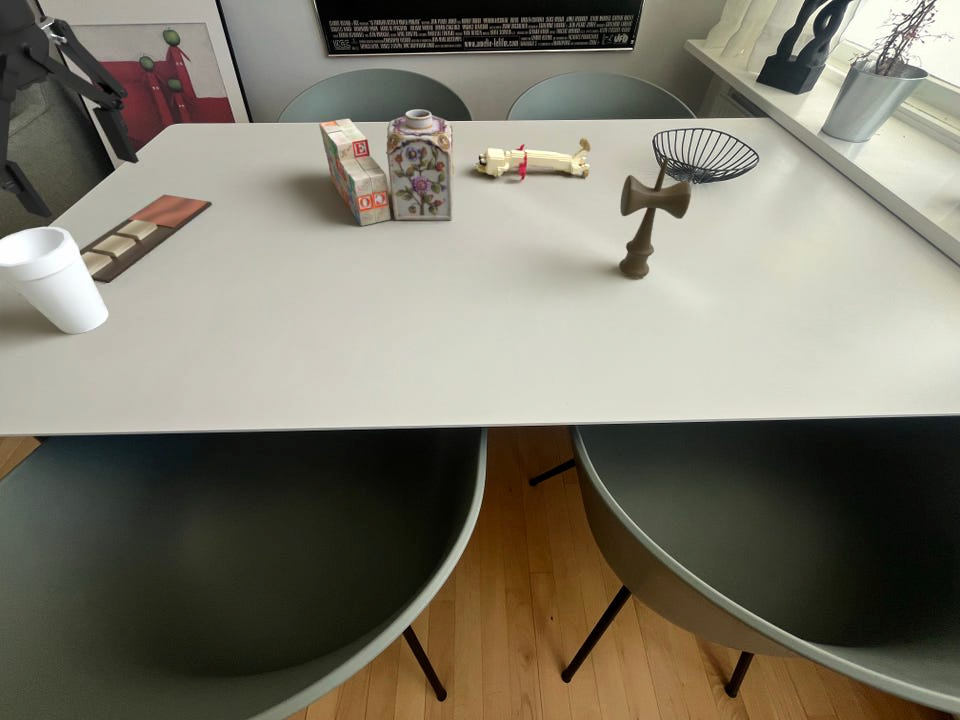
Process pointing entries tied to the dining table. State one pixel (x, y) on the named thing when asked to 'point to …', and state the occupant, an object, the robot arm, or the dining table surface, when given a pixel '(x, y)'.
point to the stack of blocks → (355, 171)
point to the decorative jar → (421, 166)
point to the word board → (139, 235)
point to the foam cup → (52, 278)
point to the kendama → (649, 216)
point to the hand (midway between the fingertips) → (87, 185)
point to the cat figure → (533, 160)
